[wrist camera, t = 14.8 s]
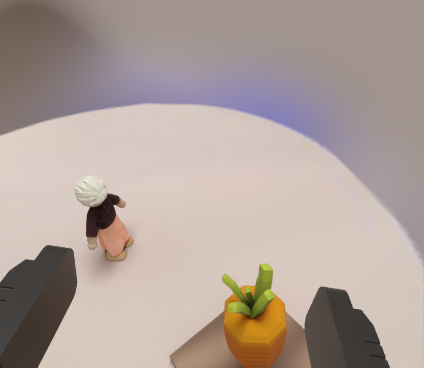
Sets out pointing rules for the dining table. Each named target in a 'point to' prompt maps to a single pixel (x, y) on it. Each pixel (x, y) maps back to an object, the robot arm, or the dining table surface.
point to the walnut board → (223, 358)
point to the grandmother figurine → (103, 218)
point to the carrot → (255, 321)
